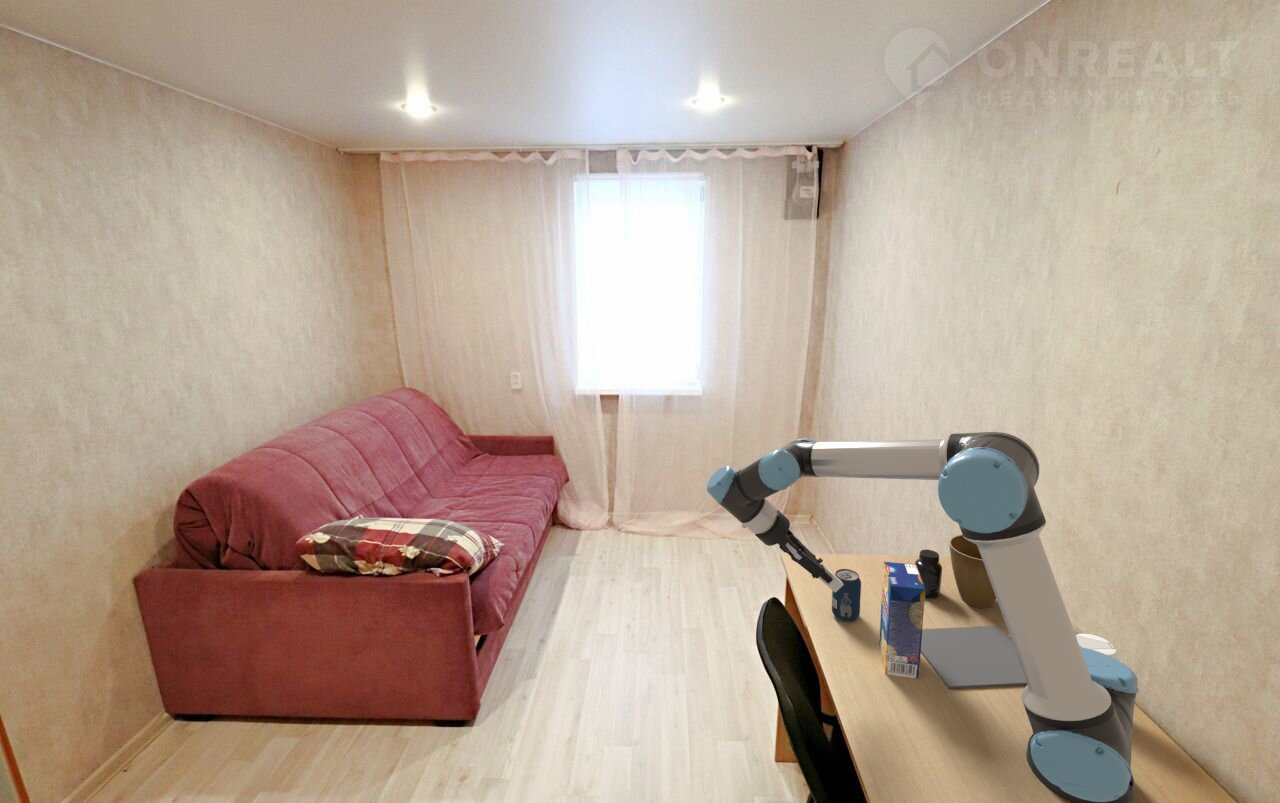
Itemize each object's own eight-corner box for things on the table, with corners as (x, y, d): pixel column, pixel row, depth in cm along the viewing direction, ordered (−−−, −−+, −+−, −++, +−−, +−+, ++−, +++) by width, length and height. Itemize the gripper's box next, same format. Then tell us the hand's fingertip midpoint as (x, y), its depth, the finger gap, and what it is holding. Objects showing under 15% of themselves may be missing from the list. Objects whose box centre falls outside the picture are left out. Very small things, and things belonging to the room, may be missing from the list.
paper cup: (1098, 693, 120) (1107, 634, 117) (1117, 720, 113) (1127, 658, 110) (1055, 687, 122) (1063, 629, 119) (1071, 714, 115) (1080, 653, 112)
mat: (1054, 683, 123) (1054, 681, 123) (948, 688, 123) (948, 686, 123) (996, 627, 143) (996, 625, 143) (905, 632, 143) (905, 630, 143)
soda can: (849, 606, 154) (851, 566, 152) (865, 621, 148) (867, 579, 145) (826, 610, 153) (827, 569, 151) (840, 625, 146) (842, 583, 144)
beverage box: (909, 648, 137) (915, 564, 132) (918, 679, 127) (925, 589, 122) (879, 644, 139) (883, 561, 134) (885, 674, 128) (890, 586, 124)
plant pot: (941, 582, 164) (945, 531, 161) (1000, 590, 159) (1006, 537, 156) (949, 611, 150) (954, 556, 147) (1015, 620, 145) (1022, 563, 142)
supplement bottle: (907, 590, 161) (909, 550, 159) (924, 583, 164) (927, 545, 161) (928, 601, 155) (931, 561, 152) (945, 595, 158) (949, 555, 155)
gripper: (747, 521, 132) (816, 582, 136) (760, 547, 119) (836, 614, 123) (770, 498, 131) (839, 561, 135) (786, 522, 118) (862, 591, 122)
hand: (838, 586), depth 129 cm, fingers closed
